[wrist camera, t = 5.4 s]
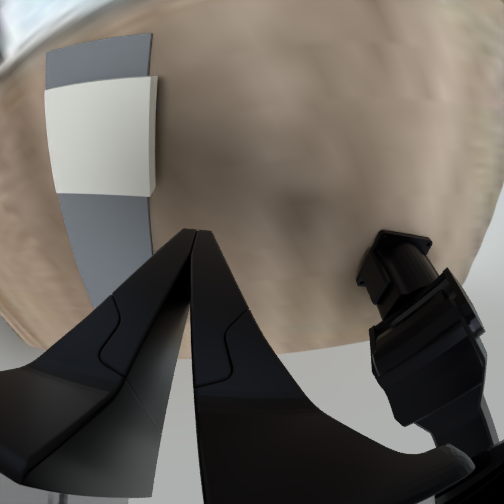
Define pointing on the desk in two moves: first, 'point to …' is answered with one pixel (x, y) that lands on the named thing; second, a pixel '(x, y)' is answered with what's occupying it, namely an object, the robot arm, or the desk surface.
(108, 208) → the rubber mat
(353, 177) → the desk surface
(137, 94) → the glazed tile
